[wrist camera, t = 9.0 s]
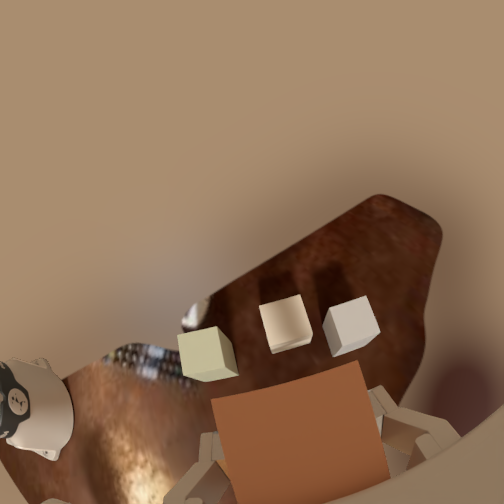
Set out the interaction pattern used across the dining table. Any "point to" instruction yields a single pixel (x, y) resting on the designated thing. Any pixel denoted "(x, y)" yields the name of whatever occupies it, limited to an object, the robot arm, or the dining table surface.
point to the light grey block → (350, 326)
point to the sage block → (207, 355)
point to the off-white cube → (286, 324)
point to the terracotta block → (302, 439)
